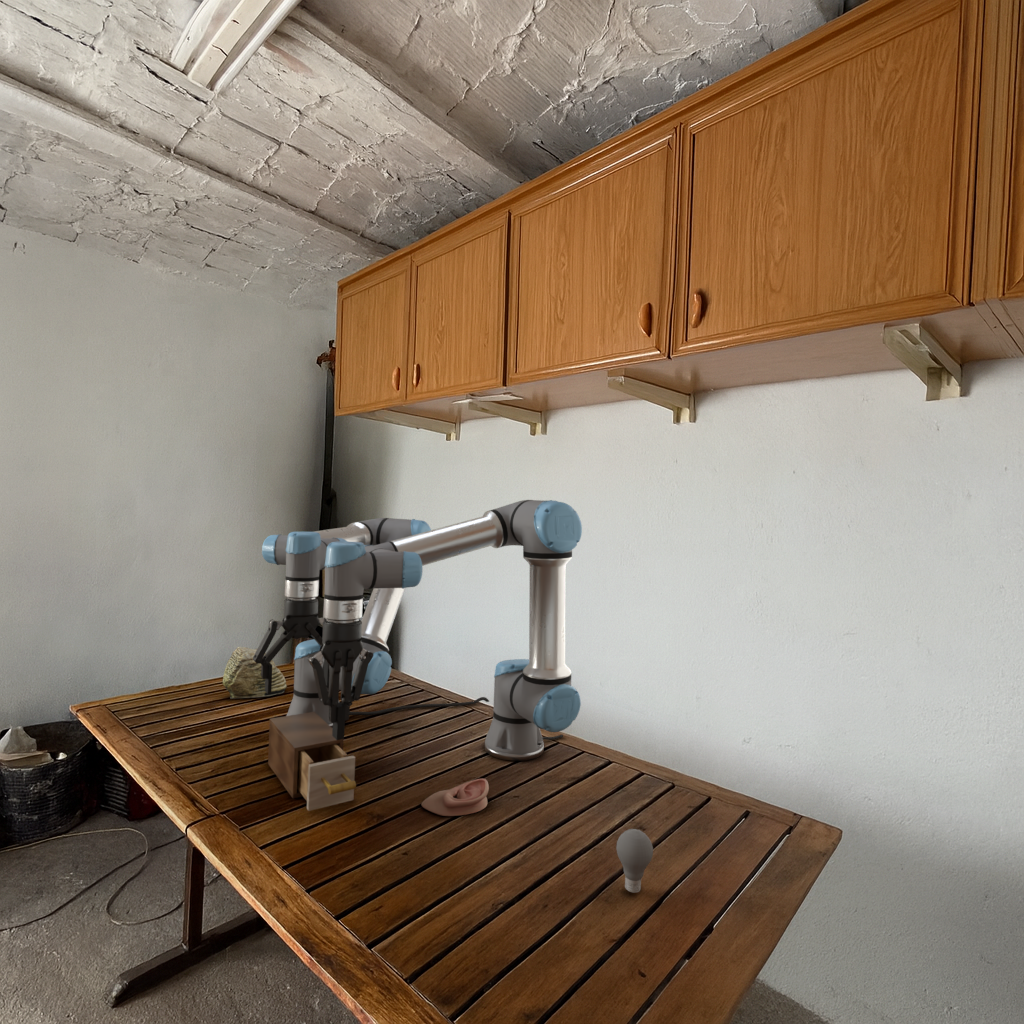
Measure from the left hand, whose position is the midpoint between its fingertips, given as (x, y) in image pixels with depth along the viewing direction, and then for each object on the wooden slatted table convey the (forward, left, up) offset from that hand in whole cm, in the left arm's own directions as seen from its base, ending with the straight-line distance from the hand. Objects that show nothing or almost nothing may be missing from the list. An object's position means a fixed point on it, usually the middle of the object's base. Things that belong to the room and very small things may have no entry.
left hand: (298, 688), depth 148 cm
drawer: (+5, +18, -17) cm, 25 cm away
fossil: (-20, -54, -18) cm, 61 cm away
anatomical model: (-12, +40, -18) cm, 46 cm away
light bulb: (-11, +82, -18) cm, 85 cm away
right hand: (+7, +26, -2) cm, 27 cm away
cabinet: (+2, +6, -18) cm, 19 cm away
